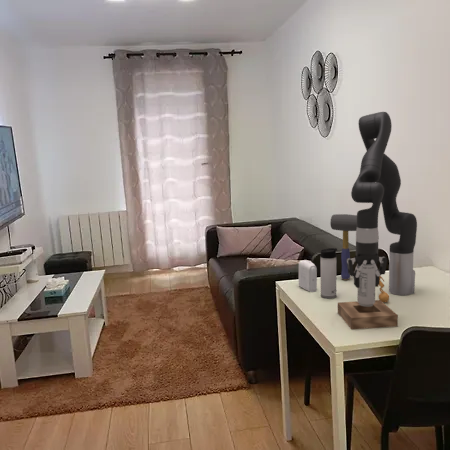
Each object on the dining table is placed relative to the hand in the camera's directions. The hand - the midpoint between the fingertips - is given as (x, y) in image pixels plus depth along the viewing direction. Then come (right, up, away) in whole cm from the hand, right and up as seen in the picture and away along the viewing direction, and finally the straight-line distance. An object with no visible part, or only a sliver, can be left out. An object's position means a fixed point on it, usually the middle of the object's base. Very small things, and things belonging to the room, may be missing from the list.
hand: (366, 286), depth 173 cm
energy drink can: (0, -7, +1) cm, 7 cm away
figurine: (+11, -9, +19) cm, 24 cm away
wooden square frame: (+1, -12, +2) cm, 12 cm away
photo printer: (-14, -6, +40) cm, 42 cm away
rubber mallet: (+5, -3, +50) cm, 51 cm away
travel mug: (-7, -8, +28) cm, 30 cm away
